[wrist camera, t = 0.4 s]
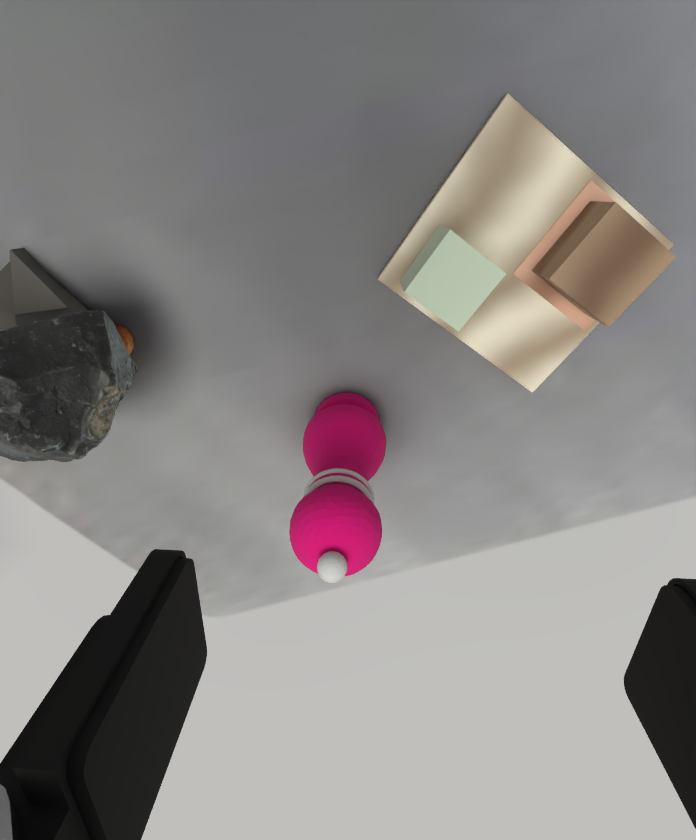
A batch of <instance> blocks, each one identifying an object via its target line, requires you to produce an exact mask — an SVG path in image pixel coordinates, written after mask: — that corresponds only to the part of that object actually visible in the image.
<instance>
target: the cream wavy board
mask: <svg viewBox="0 0 696 840" xmlns="http://www.w3.org/2000/svg"><path fill="white" fill-rule="evenodd" d="M590 201H599V202H616V203H618V204H619V205H620V206H621V207H622V208H623V209H624V210H625V211H626V212H627V213H629V214H630V215H631V216H632V217H633V218H634V219H635V220H636V221H637V222H639V223H640V224H641V225H642V226H643V227H644V228H645V229H646V230H647V231H648V232H650V233H651V234H652V235H653V236H654V237H655V238H656V239H657V240H658V241H660V242H661V243H662V244H663V245H664V246H665V247H666V248H667V249H668V250H670V249H671V248H672V247H673V246H674V244H673V243H671V242H670V241H669V240H668V239H667V238H666V237H665V236H664V235H663V234H662V233H660V232H659V231H658V230H657V229H656V228H655V227H654V226H653V225H652V224H651V223H649V222H648V221H647V220H646V219H645V218H644V217H643V216H642V215H641V214H640V213H639V212H637V211H636V210H635V209H634V208H633V207H632V206H631V205H630V204H629V203H628V202H626V201H625V200H624V199H623V198H622V197H621V196H620V195H619V194H618V193H617V192H615V191H614V190H613V189H612V188H611V187H610V186H609V185H608V184H607V183H606V182H605V181H603V180H602V179H601V178H600V177H599V176H598V175H597V174H596V173H595V172H594V171H592V170H591V169H590V168H589V167H588V166H587V165H586V164H585V163H584V162H583V161H581V160H580V159H579V158H578V157H577V156H576V155H575V154H574V153H573V152H572V151H570V150H569V149H568V148H567V147H566V146H565V145H564V144H563V143H562V142H561V141H560V140H558V139H557V138H556V137H555V136H554V135H553V134H552V133H551V132H550V131H549V130H547V129H546V128H545V127H544V126H543V125H542V124H541V123H540V122H539V121H538V120H536V119H535V118H534V117H533V116H532V115H531V114H530V113H529V112H528V111H527V110H526V109H524V108H523V107H522V106H521V105H520V104H519V103H518V102H517V101H516V100H515V99H513V98H512V97H511V96H510V95H509V94H507V95H505V96H504V97H503V99H502V100H501V101H500V103H499V104H498V106H497V107H496V109H495V110H494V111H493V113H492V114H491V116H490V117H489V119H488V120H487V121H486V123H485V124H484V126H483V127H482V129H481V130H480V132H479V133H478V134H477V136H476V137H475V139H474V140H473V142H472V143H471V144H470V146H469V147H468V149H467V150H466V152H465V153H464V154H463V156H462V157H461V159H460V160H459V162H458V163H457V164H456V166H455V167H454V169H453V170H452V172H451V173H450V174H449V176H448V177H447V179H446V180H445V182H444V183H443V184H442V186H441V187H440V189H439V190H438V192H437V193H436V194H435V196H434V197H433V199H432V200H431V202H430V203H429V204H428V206H427V207H426V209H425V210H424V212H423V213H422V215H421V216H420V217H419V219H418V220H417V222H416V223H415V225H414V226H413V227H412V229H411V230H410V232H409V233H408V235H407V236H406V237H405V239H404V240H403V242H402V243H401V245H400V246H399V247H398V249H397V250H396V252H395V253H394V255H393V256H392V257H391V259H390V260H389V262H388V263H387V265H386V266H385V267H384V269H383V270H382V272H381V273H380V275H379V276H378V280H379V281H381V282H382V283H383V284H385V285H386V286H388V287H389V288H390V289H392V290H393V291H394V292H396V293H397V294H398V295H400V296H401V297H403V298H404V299H405V300H407V301H408V302H409V303H411V304H412V305H413V306H415V307H416V308H418V309H419V310H420V311H422V312H423V313H424V314H426V315H427V316H429V317H430V318H431V319H433V320H434V321H435V322H437V323H438V324H439V325H441V326H442V327H444V328H445V329H446V330H448V331H449V332H450V333H452V334H453V335H454V336H456V337H457V338H459V339H460V340H461V341H463V342H464V343H465V344H467V345H468V346H470V347H471V348H472V349H474V350H475V351H476V352H478V353H479V354H480V355H482V356H483V357H485V358H486V359H487V360H489V361H490V362H491V363H493V364H494V365H495V366H497V367H498V368H500V369H501V370H502V371H504V372H505V373H506V374H508V375H509V376H510V377H512V378H513V379H515V380H516V381H517V382H519V383H520V384H521V385H523V386H524V387H526V388H527V389H528V390H530V391H531V392H533V391H534V390H535V389H536V388H537V387H538V386H539V385H540V384H541V383H542V382H543V381H544V380H545V379H546V378H547V377H548V376H549V375H550V374H551V373H552V372H553V371H554V369H555V368H556V367H557V366H558V365H559V364H560V363H561V362H562V361H563V360H564V359H565V358H566V357H567V356H568V355H569V354H570V353H571V352H572V351H573V350H574V349H575V348H576V347H577V346H578V345H579V343H580V342H581V341H582V340H583V339H584V338H585V337H586V336H587V335H588V334H589V333H590V332H591V331H592V330H593V329H594V328H595V327H596V326H597V325H598V324H599V323H600V322H598V321H597V320H595V319H593V318H591V317H590V316H588V315H586V314H585V313H583V312H582V311H581V310H580V309H578V308H577V307H576V306H575V305H574V304H572V303H571V302H570V301H569V300H567V299H566V298H565V297H564V296H562V295H561V294H560V293H559V292H557V291H556V290H555V289H554V288H553V287H551V286H550V285H549V284H548V283H546V282H545V281H544V280H543V279H541V278H540V277H539V276H538V275H537V274H535V273H534V272H533V271H532V269H533V268H534V267H535V266H536V265H537V263H538V262H539V261H540V260H541V259H542V257H543V256H544V255H545V254H546V253H547V252H548V250H549V249H550V248H551V247H552V246H553V244H554V243H555V242H556V241H557V240H558V239H559V237H560V236H561V235H562V234H563V233H564V231H565V230H566V229H567V228H568V227H569V226H570V224H571V223H572V222H573V221H574V220H575V218H576V217H577V216H578V215H579V214H580V213H581V211H582V210H583V209H584V208H585V207H586V205H587V204H588V203H589V202H590ZM439 225H442V226H444V227H446V228H448V229H450V230H452V231H453V232H454V233H456V234H457V235H458V236H459V237H461V238H462V239H463V240H464V241H466V242H467V243H468V244H469V245H471V246H472V247H473V248H474V249H476V250H477V251H478V252H479V253H481V254H482V255H483V256H484V257H486V258H487V259H488V260H489V261H491V262H492V263H493V264H494V265H496V266H497V267H498V268H500V269H501V270H502V271H503V272H505V273H506V275H505V276H504V277H503V278H502V280H501V281H500V282H499V283H498V284H497V286H496V287H495V288H494V289H493V291H492V292H491V293H490V294H489V295H488V297H487V298H486V299H485V300H484V301H483V303H482V304H481V305H480V306H479V308H478V309H477V310H476V311H475V312H474V314H473V315H472V316H471V317H470V319H469V320H468V321H467V322H466V323H465V325H464V326H463V327H462V328H461V329H460V331H459V332H458V331H457V330H455V329H454V328H453V327H451V326H450V325H449V324H447V323H446V322H445V321H443V320H442V319H440V318H439V317H438V316H436V315H435V314H434V313H432V312H431V311H430V310H428V309H427V308H426V307H424V306H423V305H421V304H420V303H419V302H417V301H416V300H415V299H413V298H412V297H411V296H409V295H408V294H406V293H405V292H404V290H403V287H402V284H401V281H400V279H401V278H402V277H403V275H404V274H405V272H406V271H407V270H408V268H409V267H410V266H411V264H412V263H413V261H414V260H415V259H416V257H417V256H418V255H419V253H420V252H421V250H422V249H423V248H424V246H425V245H426V243H427V242H428V241H429V239H430V238H431V237H432V235H433V234H434V232H435V231H436V230H437V228H438V227H439Z"/></svg>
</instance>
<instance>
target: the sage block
mask: <svg viewBox="0 0 696 840" xmlns="http://www.w3.org/2000/svg"><path fill="white" fill-rule="evenodd" d="M505 275H506V273H505V272H503V271H502V270H501V269H500V268H498V267H497V266H496V265H494V264H493V263H492V262H491V261H489V260H488V259H487V258H486V257H484V256H483V255H482V254H481V253H479V252H478V251H477V250H476V249H474V248H473V247H472V246H471V245H469V244H468V243H467V242H466V241H464V240H463V239H462V238H461V237H459V236H458V235H457V234H456V233H454V232H453V231H452V230H450V229H448V228H446V227H444V226H442V225H439V227H438V228H437V230H436V231H435V232H434V234H433V235H432V237H431V238H430V239H429V241H428V242H427V243H426V245H425V246H424V248H423V249H422V250H421V252H420V253H419V255H418V256H417V257H416V259H415V260H414V261H413V263H412V264H411V266H410V267H409V268H408V270H407V271H406V272H405V274H404V275H403V277H402V278H401V279H400V281H401V284H402V287H403V290H404V292H405V293H406V294H408V295H409V296H411V297H412V298H413V299H415V300H416V301H417V302H419V303H420V304H421V305H423V306H424V307H426V308H427V309H428V310H430V311H431V312H432V313H434V314H435V315H436V316H438V317H439V318H440V319H442V320H443V321H445V322H446V323H447V324H449V325H450V326H451V327H453V328H454V329H455V330H457V331H458V332H459V331H460V329H461V328H462V327H463V326H464V325H465V323H466V322H467V321H468V320H469V319H470V317H471V316H472V315H473V314H474V312H475V311H476V310H477V309H478V308H479V306H480V305H481V304H482V303H483V301H484V300H485V299H486V298H487V297H488V295H489V294H490V293H491V292H492V291H493V289H494V288H495V287H496V286H497V284H498V283H499V282H500V281H501V280H502V278H503V277H504V276H505Z"/></svg>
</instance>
